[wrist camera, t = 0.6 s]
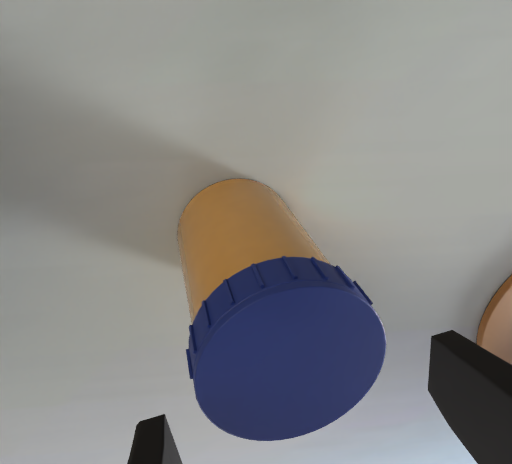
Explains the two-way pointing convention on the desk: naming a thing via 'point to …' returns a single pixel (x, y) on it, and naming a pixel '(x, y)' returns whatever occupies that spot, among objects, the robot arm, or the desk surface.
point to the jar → (235, 235)
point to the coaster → (498, 324)
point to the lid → (284, 349)
